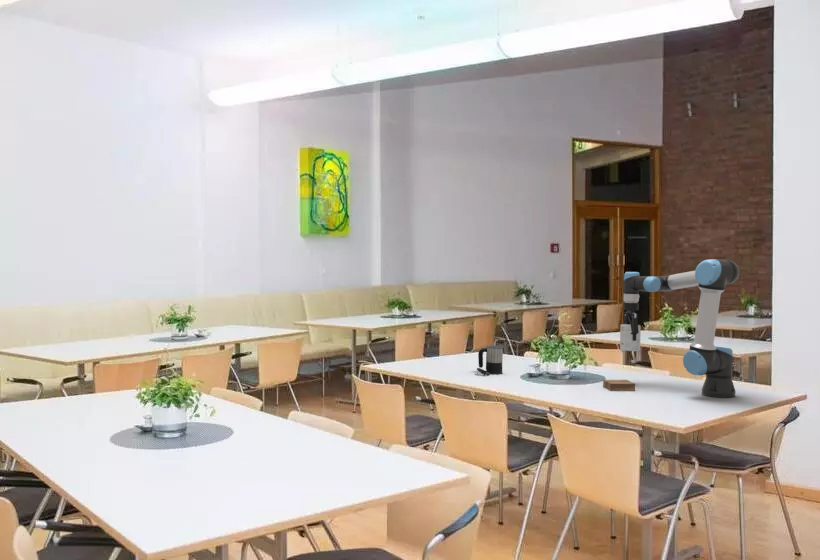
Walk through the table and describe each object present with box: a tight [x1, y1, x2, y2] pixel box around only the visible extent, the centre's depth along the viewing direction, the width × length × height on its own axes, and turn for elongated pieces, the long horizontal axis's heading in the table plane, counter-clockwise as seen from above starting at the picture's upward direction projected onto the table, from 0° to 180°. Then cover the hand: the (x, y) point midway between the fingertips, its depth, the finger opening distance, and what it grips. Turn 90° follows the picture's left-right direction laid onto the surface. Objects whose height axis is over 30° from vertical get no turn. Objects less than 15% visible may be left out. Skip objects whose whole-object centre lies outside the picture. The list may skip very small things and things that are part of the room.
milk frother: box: [476, 345, 504, 376], centre depth 445 cm, size 14×16×15 cm
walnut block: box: [602, 379, 636, 392], centre depth 402 cm, size 12×12×4 cm
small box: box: [619, 324, 642, 352], centre depth 417 cm, size 8×6×13 cm
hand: (630, 345), depth 417 cm, fingers closed on small box, 10 cm apart
